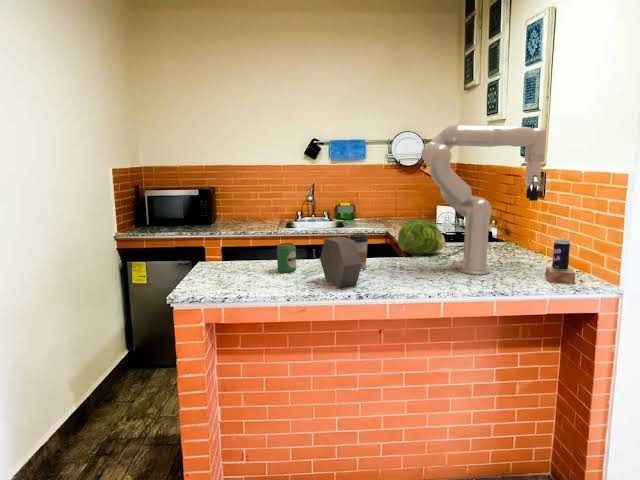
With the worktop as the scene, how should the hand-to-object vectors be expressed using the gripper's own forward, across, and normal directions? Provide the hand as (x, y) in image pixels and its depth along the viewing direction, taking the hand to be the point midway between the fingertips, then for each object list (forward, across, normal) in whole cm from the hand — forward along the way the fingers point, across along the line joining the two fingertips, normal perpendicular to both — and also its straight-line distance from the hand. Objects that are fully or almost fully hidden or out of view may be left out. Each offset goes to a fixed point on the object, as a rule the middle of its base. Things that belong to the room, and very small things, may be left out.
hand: (531, 199), depth 207 cm
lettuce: (+31, -22, -47) cm, 60 cm away
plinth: (+30, +17, +10) cm, 36 cm away
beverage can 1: (+31, +30, -100) cm, 109 cm away
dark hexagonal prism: (+31, +43, -73) cm, 90 cm away
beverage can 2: (+26, +17, +10) cm, 33 cm away
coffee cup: (+31, +18, -71) cm, 79 cm away
